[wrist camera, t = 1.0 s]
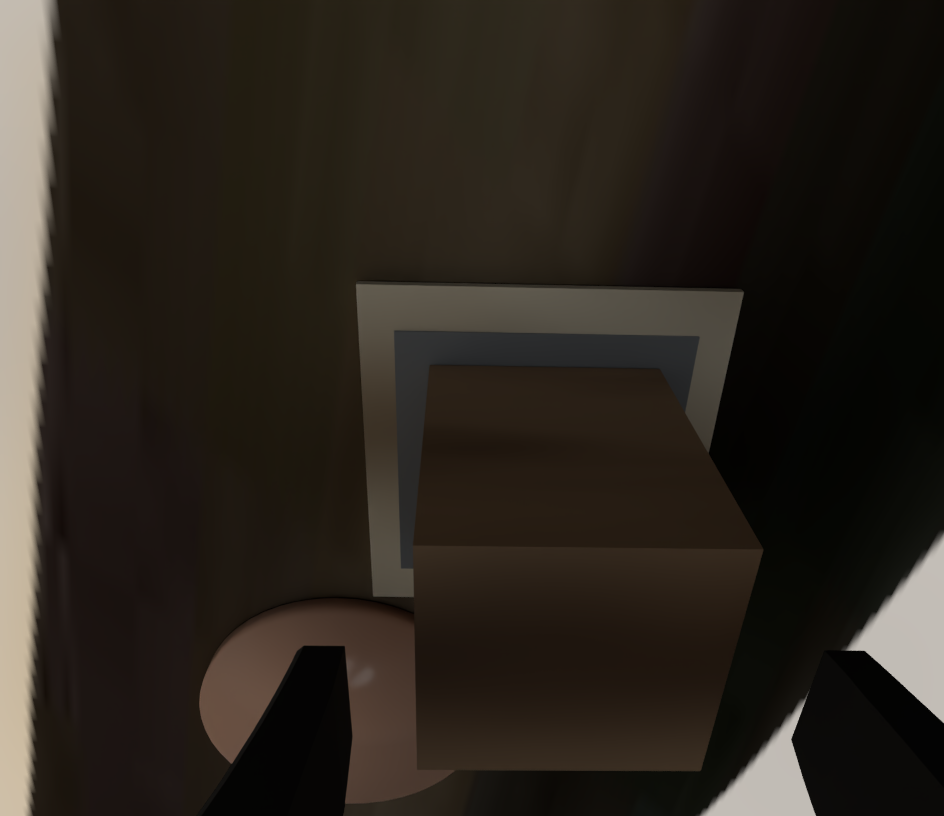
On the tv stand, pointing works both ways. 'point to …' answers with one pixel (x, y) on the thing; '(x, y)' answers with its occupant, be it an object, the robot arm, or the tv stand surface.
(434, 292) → the board
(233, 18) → the tv stand surface
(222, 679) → the coaster
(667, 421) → the walnut block
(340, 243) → the tv stand surface
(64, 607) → the tv stand surface
